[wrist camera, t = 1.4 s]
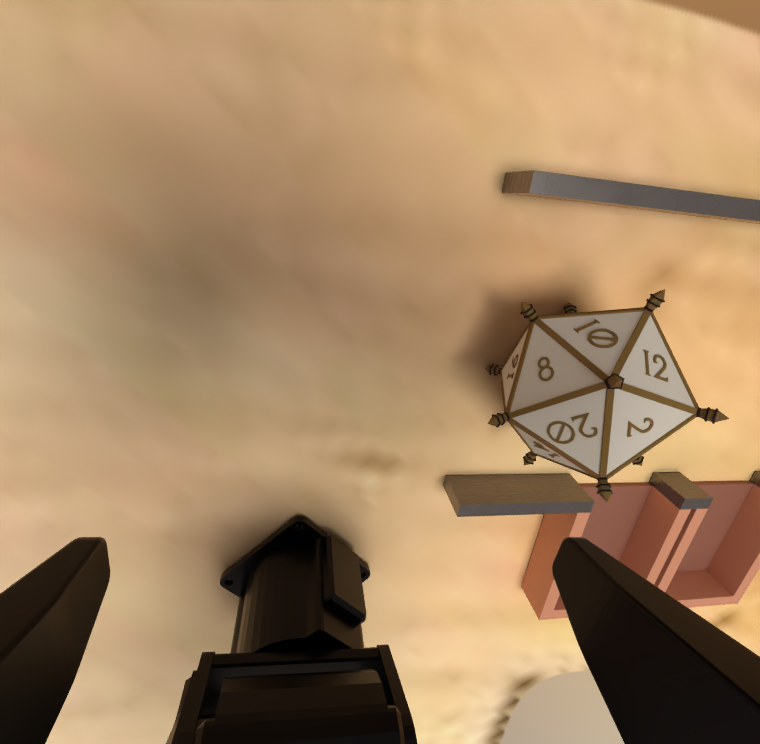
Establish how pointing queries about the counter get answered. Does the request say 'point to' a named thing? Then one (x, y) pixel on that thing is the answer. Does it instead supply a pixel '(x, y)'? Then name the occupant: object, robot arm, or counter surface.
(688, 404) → the game die
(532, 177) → the lane rails
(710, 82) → the counter surface
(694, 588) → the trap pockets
